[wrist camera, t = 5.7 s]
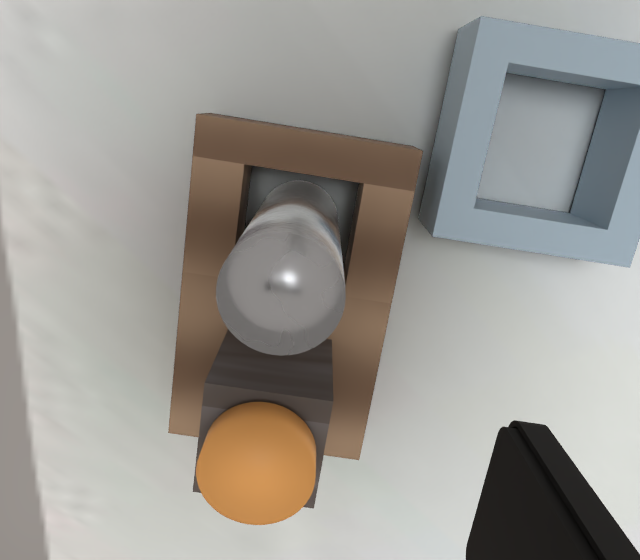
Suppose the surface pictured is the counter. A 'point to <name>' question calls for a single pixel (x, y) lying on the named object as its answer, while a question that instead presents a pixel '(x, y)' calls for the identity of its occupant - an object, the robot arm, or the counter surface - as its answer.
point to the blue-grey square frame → (476, 128)
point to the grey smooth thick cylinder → (285, 273)
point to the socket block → (359, 274)
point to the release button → (257, 463)
